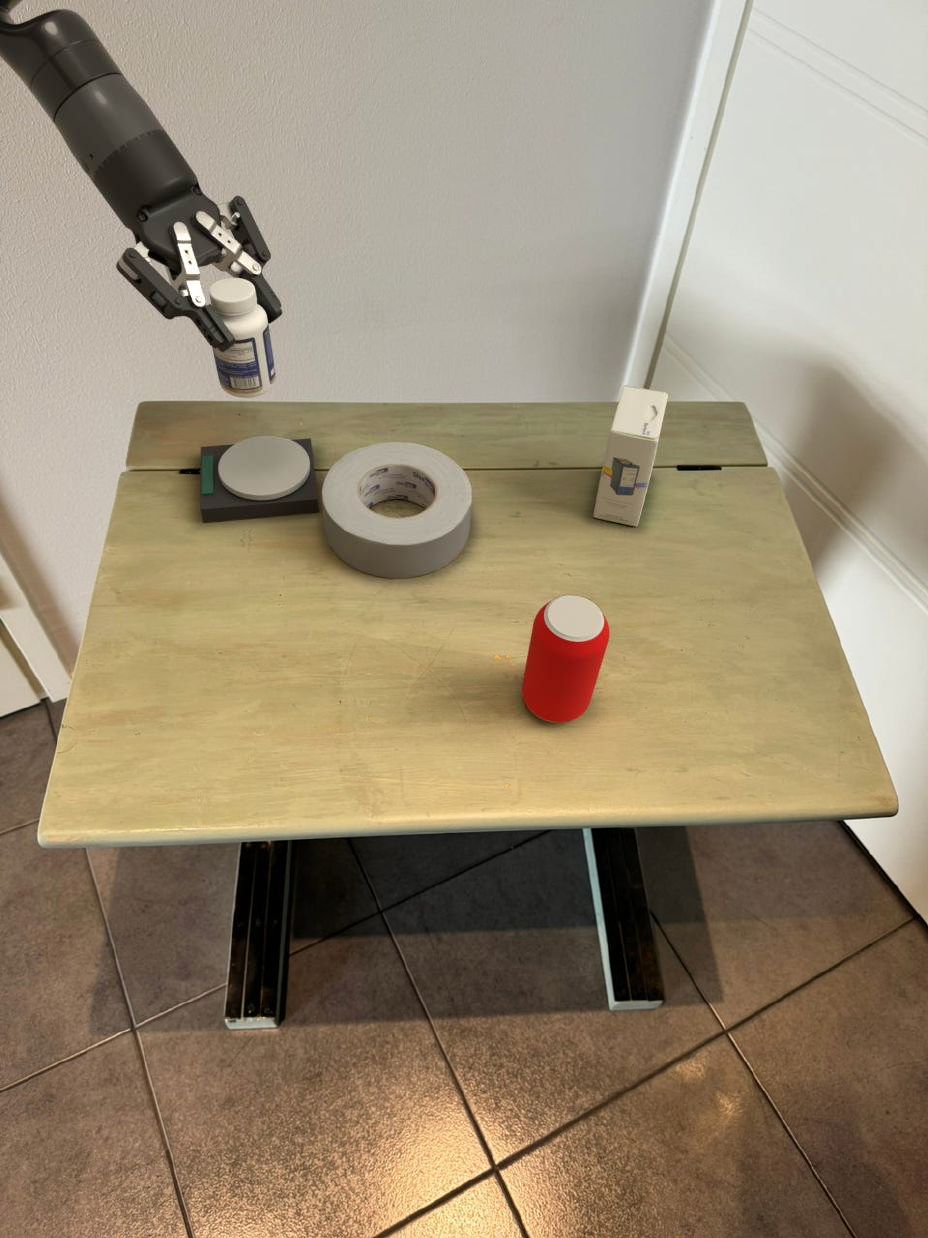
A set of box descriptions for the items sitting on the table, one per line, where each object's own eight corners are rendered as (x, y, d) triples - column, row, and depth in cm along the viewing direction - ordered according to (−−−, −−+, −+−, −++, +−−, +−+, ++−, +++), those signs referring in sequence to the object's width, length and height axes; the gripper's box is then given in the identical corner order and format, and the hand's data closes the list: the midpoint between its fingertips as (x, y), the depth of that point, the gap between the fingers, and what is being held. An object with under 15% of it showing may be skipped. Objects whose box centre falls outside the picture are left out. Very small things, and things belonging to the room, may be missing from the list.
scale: (203, 523, 87) (197, 501, 85) (204, 460, 93) (198, 439, 91) (319, 512, 89) (316, 491, 87) (312, 451, 95) (310, 430, 93)
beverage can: (530, 664, 78) (546, 578, 68) (595, 683, 77) (620, 598, 67) (512, 717, 74) (526, 633, 65) (580, 737, 73) (604, 656, 64)
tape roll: (497, 518, 90) (502, 482, 86) (409, 602, 82) (409, 568, 78) (387, 458, 95) (386, 421, 91) (293, 532, 87) (288, 496, 83)
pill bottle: (248, 359, 83) (232, 266, 76) (288, 380, 81) (276, 287, 74) (207, 384, 80) (187, 290, 73) (248, 406, 79) (231, 312, 71)
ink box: (636, 528, 90) (662, 441, 81) (589, 518, 90) (610, 430, 81) (647, 478, 95) (672, 391, 86) (603, 468, 96) (623, 381, 87)
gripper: (68, 157, 63) (211, 353, 69) (207, 103, 71) (325, 283, 77) (45, 206, 69) (179, 383, 75) (176, 151, 77) (288, 315, 82)
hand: (252, 331), depth 76 cm, fingers closed on pill bottle, 5 cm apart
